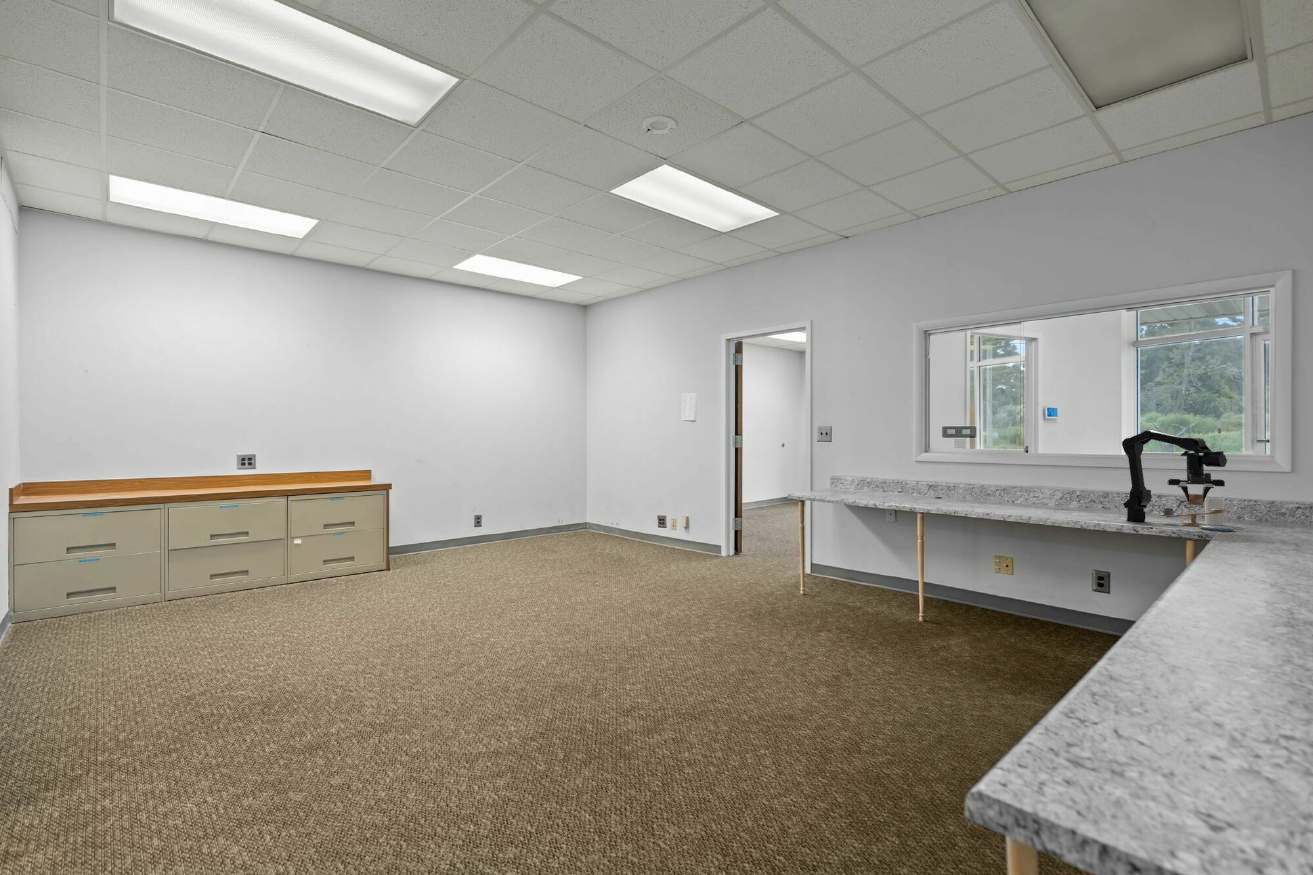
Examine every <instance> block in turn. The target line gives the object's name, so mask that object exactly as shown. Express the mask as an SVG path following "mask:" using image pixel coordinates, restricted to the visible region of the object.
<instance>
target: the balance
mask: <svg viewBox="0 0 1313 875" xmlns="http://www.w3.org/2000/svg"><path fill="white" fill-rule="evenodd" d="M1211 511H1214V512H1205V511H1202V512H1193V513H1192V512H1191V513H1178V514H1176V513H1175V514H1174V508H1173V507H1166V506H1164V507H1163V513H1159V515H1160V516H1162V517H1165V518H1175V517H1176V518H1177V517H1178V518H1179V517H1188V516H1190V521H1187V520H1183V521H1180V524H1181V525H1182V526H1188V527H1189V526H1191V527H1200V525H1207V524H1205V522H1199V521H1198V522H1197V516H1202V515H1203V516H1205V514H1217V513H1223V512H1224V513H1226V512H1229V513H1230V509H1226V508H1224V509H1211Z"/></svg>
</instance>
